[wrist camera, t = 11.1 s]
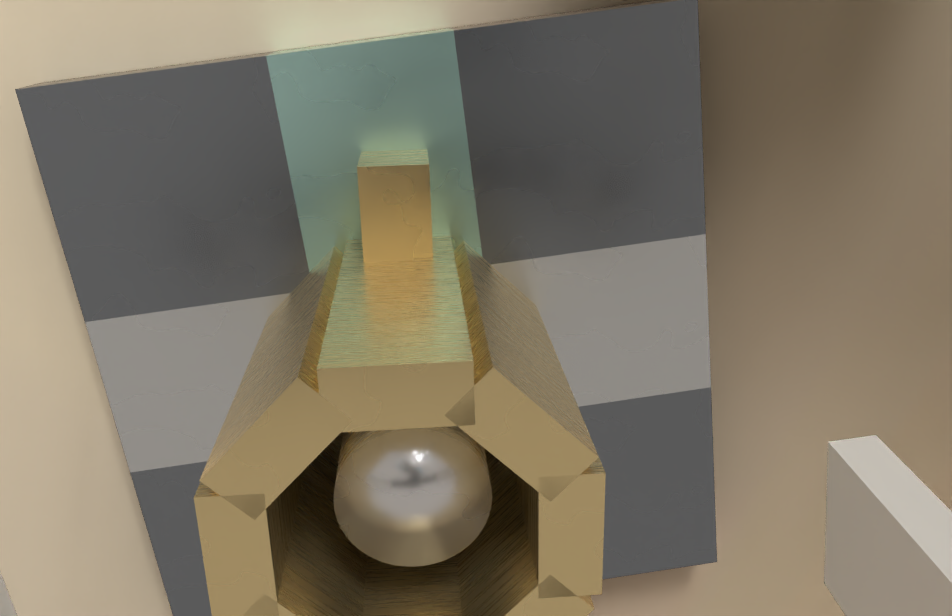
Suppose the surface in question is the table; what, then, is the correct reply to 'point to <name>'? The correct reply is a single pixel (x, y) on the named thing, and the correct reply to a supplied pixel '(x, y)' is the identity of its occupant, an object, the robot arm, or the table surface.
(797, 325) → the table surface
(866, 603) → the robot arm
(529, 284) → the post base
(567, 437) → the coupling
